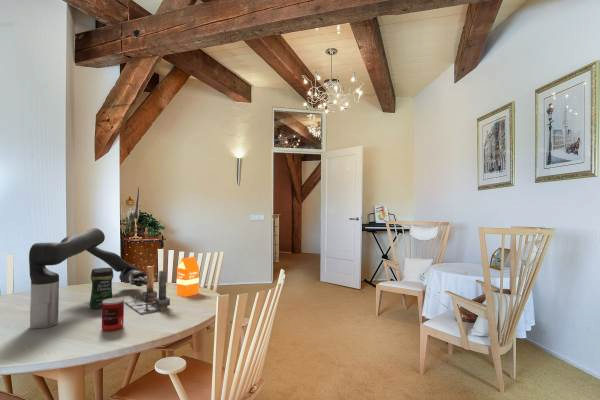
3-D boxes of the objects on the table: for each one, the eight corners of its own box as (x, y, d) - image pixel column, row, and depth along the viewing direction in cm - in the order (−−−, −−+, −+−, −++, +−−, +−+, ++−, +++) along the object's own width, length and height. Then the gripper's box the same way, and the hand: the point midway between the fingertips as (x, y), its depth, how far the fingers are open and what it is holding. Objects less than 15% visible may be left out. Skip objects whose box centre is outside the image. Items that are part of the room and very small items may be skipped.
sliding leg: (156, 299, 175) (157, 266, 175) (135, 302, 168) (135, 268, 168) (153, 297, 178) (153, 265, 179) (132, 300, 172) (132, 267, 172)
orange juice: (198, 293, 192) (199, 257, 192) (185, 296, 185) (186, 259, 185) (189, 291, 196) (190, 256, 197) (176, 294, 189) (176, 257, 189)
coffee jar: (90, 310, 159) (91, 270, 160) (88, 306, 165) (89, 267, 166) (114, 307, 165) (115, 268, 166) (111, 303, 171) (112, 265, 172)
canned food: (118, 323, 142) (118, 296, 142) (127, 327, 137) (127, 300, 137) (98, 328, 136) (98, 300, 136) (106, 333, 131) (106, 304, 131)
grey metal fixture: (169, 308, 162) (170, 271, 163) (140, 314, 153) (141, 274, 154) (151, 298, 181) (151, 264, 181) (124, 302, 172) (124, 267, 172)
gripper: (125, 272, 185) (135, 277, 172) (150, 269, 194) (161, 274, 181) (124, 286, 184) (134, 292, 172) (150, 283, 193) (161, 288, 180)
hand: (148, 283), depth 176 cm, fingers closed
